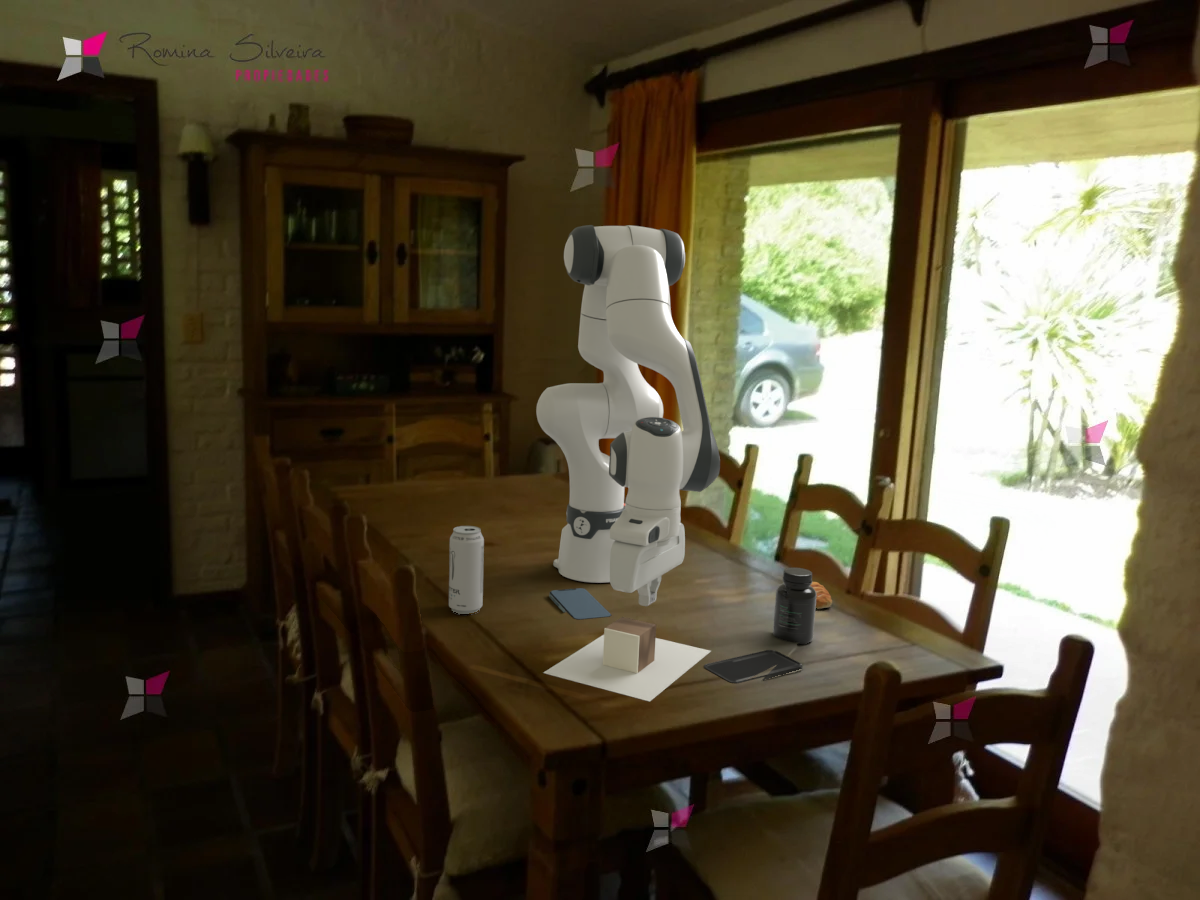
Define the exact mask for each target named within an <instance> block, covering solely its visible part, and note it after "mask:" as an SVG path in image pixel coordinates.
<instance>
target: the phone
mask: <svg viewBox="0 0 1200 900" xmlns="http://www.w3.org/2000/svg"><path fill="white" fill-rule="evenodd" d="M803 666H804V665H803V664H802V662H800V661H797V660H795V659H794V658H791V657H789V656H788V655H785V654H784V653H781V652H779V651H778V650H775V649H766V650H762V651H757V652H753V653H747V654H744V655H740V656H734V657H732V658H727V659H726V658H725V659H722V660H718V661H713V662H708V663H705V664H704V665H703V669H705V670H707V671H709V672H710V673H712V674H714V675H716V676H718V677H719V678H721V679H722V680H725V681H726V682H728V683H732V684H742V683H745V682H749V681H752V680H757V679H761V678H762V680H763V681H766V680H765V679H767V680H770V679H769V678H771V679H773V678H772V677H775V676H778V675H783V674H786V673H789V672H792V671H796V670H799V669H802V670H803ZM769 669H771V670H770V672H768V673H767V674H764V675H760V676H757V675H759V674H761V673H763V672H765V671H767V670H769ZM754 676H755V677H754ZM756 676H757V677H756ZM783 676H784V675H783ZM775 678H776V677H775Z"/></svg>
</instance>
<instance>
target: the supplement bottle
mask: <svg viewBox="0 0 1200 900" xmlns="http://www.w3.org/2000/svg"><path fill="white" fill-rule="evenodd" d="M812 582H813V572H812V571H810V569H805V568H803V567H802V568H801V567H788V568H785V569H783V575H782V583H781V584H779V585H778V586H777V588H776V589H775V590H776V591H775V600H774V601H775V602H774V612H773V614H774V615H773V624H772V626H773V627H772V628H773V629H772V634H773V636H774V637H775V638H777V639H779V640H781V641H784V642H790V643H796V645H797V646H799V645H798V644H804V645H808V644H810V643H811V642H812V641H813V639H814V631H815V618H816V610H817V609H816V596H817V594H816V591H815V589H814V588H813V587H811V586H810V585H811V584H812ZM809 642H810V643H809ZM807 643H808V644H807Z"/></svg>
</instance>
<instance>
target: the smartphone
mask: <svg viewBox="0 0 1200 900" xmlns="http://www.w3.org/2000/svg"><path fill="white" fill-rule="evenodd" d="M548 597H549V598H550V600H551V601H552V602H553V603H554V604H555V605H556V606H557V607H558V609H560V610H561V611H562V613H567V615H569V616H570V617H571V618H572V619H574V620H577V621H579V620H580V621H581V620H583V621H584V620H590V619H601V618H603V619H604V618H610V617H612V613H610V611H609V610H607V609H606V608H605V607H604V605H602V604H601V602H599V601H598V600H597V599H596V598H595V597H594V596H593V595H592V594H591V593H590V592H589V591H588V590H587V589H586V588H584V587H583V588H582V587H580V588H575V587H573V588H564V589H554V590H551V591H549V595H548Z"/></svg>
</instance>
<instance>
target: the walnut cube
mask: <svg viewBox="0 0 1200 900" xmlns="http://www.w3.org/2000/svg"><path fill="white" fill-rule="evenodd" d="M603 630H604V631H603V632H604V633H603V635H604V649H603V665H606V666H610V667H614V668H618V669H622V670H626V671H630V672H634V673H639V672H640V671H641V670H642V669H644V668H645V667H646V666H648V665H649V664H650V663H652V662H653V661H654V657H655V639H656V638H657V637H656V635H657V624H655V623H651V622H647V621H642V620H638V619H633V618H629V617H626V616H625V617H624V616H621V617H620V618H619V619H616V620H615V621H613V622H612V623H610V624H608V625H607V626H605V627H604V629H603Z"/></svg>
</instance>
